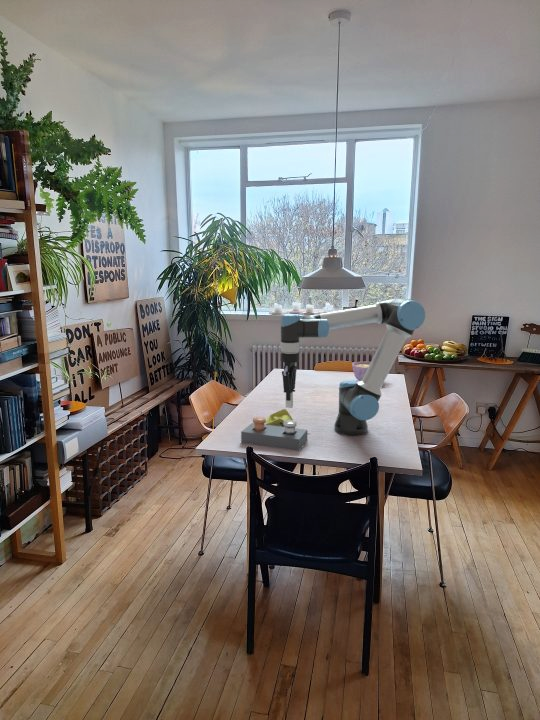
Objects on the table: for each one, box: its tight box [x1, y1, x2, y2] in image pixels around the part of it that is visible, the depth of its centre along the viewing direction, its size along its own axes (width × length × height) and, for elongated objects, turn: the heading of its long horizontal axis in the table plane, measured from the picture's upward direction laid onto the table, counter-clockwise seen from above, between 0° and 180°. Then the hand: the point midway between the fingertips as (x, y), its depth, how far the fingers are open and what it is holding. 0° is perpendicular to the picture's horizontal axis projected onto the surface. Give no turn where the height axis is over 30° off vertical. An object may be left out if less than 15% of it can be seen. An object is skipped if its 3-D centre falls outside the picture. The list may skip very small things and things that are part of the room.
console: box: [240, 422, 308, 452], centre depth 200 cm, size 26×12×5 cm, turn 69°
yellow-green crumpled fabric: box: [264, 408, 294, 427], centre depth 218 cm, size 20×7×10 cm
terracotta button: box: [252, 416, 267, 431], centre depth 201 cm, size 6×6×6 cm
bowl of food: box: [351, 361, 371, 381], centre depth 301 cm, size 20×20×12 cm
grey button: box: [282, 420, 297, 435], centre depth 197 cm, size 6×6×6 cm
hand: (289, 407), depth 195 cm, fingers closed
